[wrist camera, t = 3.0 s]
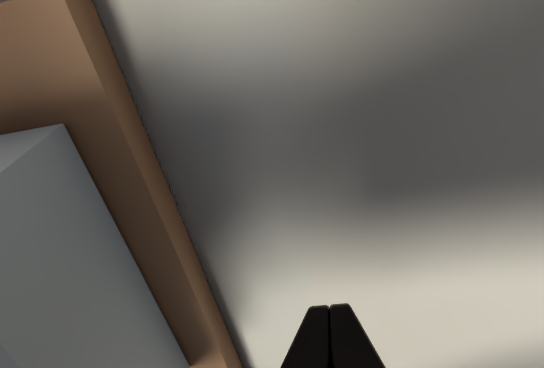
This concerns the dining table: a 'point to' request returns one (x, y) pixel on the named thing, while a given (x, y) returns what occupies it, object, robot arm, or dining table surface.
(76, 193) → the sliding block
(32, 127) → the base board
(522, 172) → the dining table surface
